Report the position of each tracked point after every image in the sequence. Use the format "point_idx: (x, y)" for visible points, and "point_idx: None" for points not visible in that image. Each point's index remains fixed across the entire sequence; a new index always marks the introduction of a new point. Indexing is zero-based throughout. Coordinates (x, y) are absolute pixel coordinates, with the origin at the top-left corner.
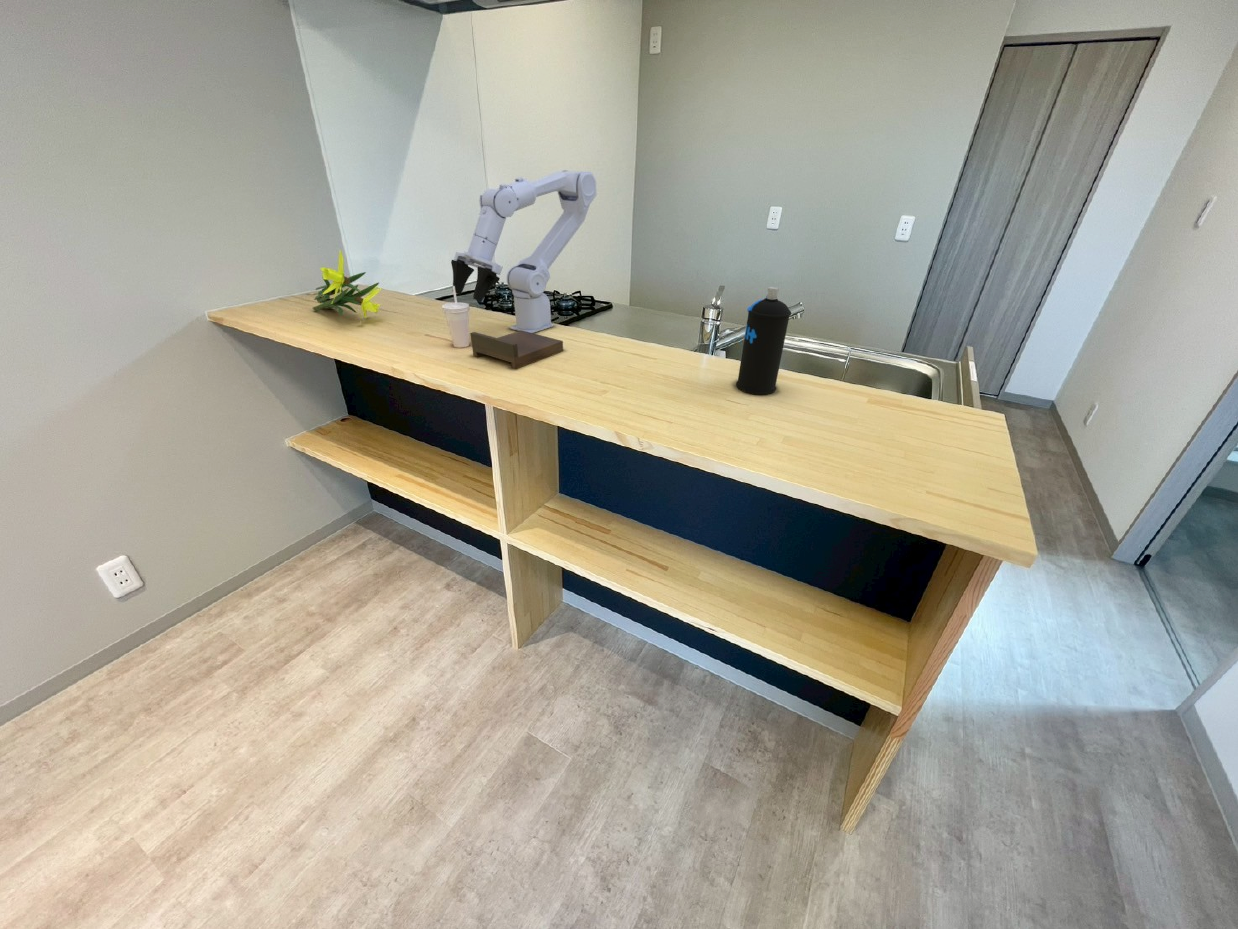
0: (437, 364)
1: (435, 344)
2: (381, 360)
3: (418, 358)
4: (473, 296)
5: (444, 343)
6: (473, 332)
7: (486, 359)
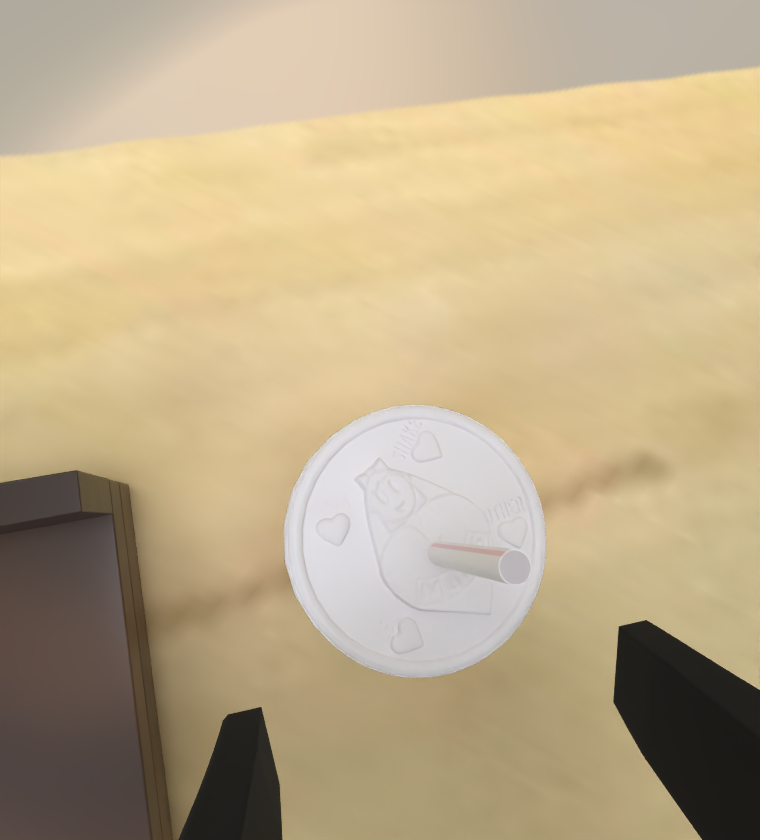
0: (152, 269)
1: None
2: (400, 122)
3: (310, 249)
4: (258, 723)
5: None
6: (64, 495)
7: None
